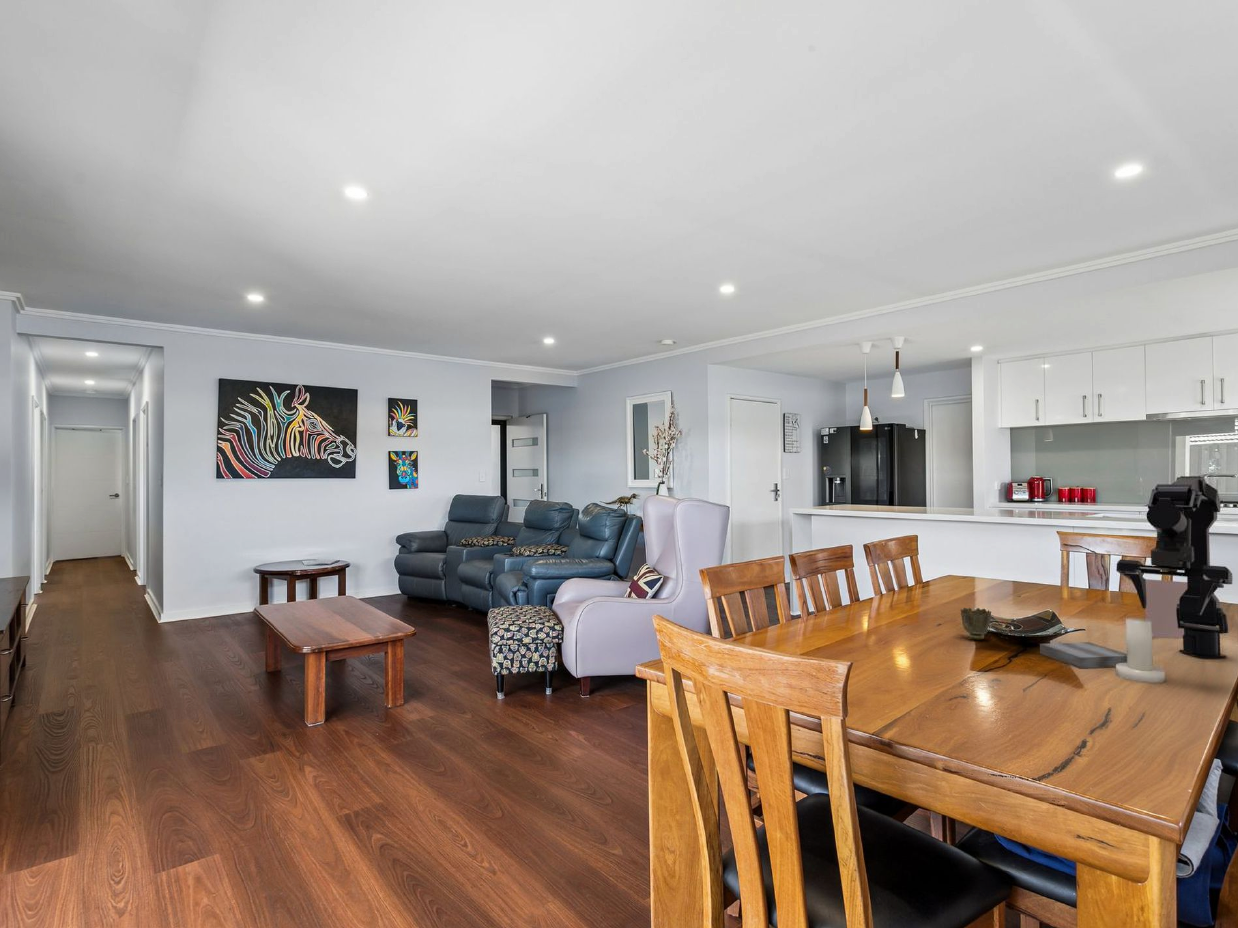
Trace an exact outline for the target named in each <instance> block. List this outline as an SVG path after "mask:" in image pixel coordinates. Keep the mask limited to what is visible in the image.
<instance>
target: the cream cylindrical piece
mask: <svg viewBox="0 0 1238 928" xmlns="http://www.w3.org/2000/svg"><path fill="white" fill-rule="evenodd" d="M1125 635H1126V636H1125V639H1126V654H1127V663H1118V664H1116V667H1115V674H1116V676H1117V677H1119V678H1122V679H1125V680H1129V681H1133V682H1137V681H1138V683H1145V684H1162V683H1164V682H1165V681H1166V671H1165V670H1164V669H1163V668H1161V667H1158V666H1154V660H1153V659H1154V658H1153V657H1154V656H1153V655H1154V654H1153V633H1152V621H1150V620H1146V618H1145V619H1144V618H1139V617H1136V618H1135V617H1134V618H1133V617H1127V618H1125Z"/></svg>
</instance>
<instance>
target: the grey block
mask: <svg viewBox="0 0 1238 928" xmlns="http://www.w3.org/2000/svg"><path fill="white" fill-rule="evenodd" d="M1039 653H1040V655H1042V656H1044V657H1045V656H1046V657H1048V658H1051V659H1052V660H1055V661H1059V662H1062V663H1064V664H1067V665H1070V666H1072V667H1076V668H1079V669H1104V668H1105V669H1107V668H1116V664H1118V663H1127V652H1126V653H1125V652H1122V651H1119V650H1115V649H1113V648H1110V647H1106V646H1102V645H1098V644H1095V643H1092V642H1091V641H1090V642H1089V641H1086V642H1085V641H1083V642H1081V641H1080V642H1079V641H1078V642H1059V643H1058V642H1057V643H1056V642H1055V643H1040V644H1039Z"/></svg>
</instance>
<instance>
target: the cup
mask: <svg viewBox="0 0 1238 928" xmlns="http://www.w3.org/2000/svg"><path fill="white" fill-rule="evenodd" d="M960 616H961V623H962V626H963V629H964V630H965V632H967V633H968V638H969V639H970V638H971V639H970V640H972V639H976V640H975V641H983V640H984V639H985V634H987V633H988V631H989V630H988V631H987V628H988V627H989V626H990V625H991V617H992V611H991V610H990V609H988V610H987V609H985V608H981V609H980V608H979V607H977V608H976V610H972V608H971V607H968V608H966V607H963V609H962V608H961V609H960ZM990 627H991V626H990ZM990 627H989V628H990ZM982 639H983V640H982Z"/></svg>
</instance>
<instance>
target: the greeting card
mask: <svg viewBox="0 0 1238 928" xmlns="http://www.w3.org/2000/svg"><path fill="white" fill-rule="evenodd" d="M1145 579H1146V600H1147V604H1146V609H1144V610H1145V611H1144V612H1145V614H1144V615H1145V619H1146V620H1150V621H1152V638H1153V637H1154V638H1153V639H1183V635H1184V629H1182V628H1181V629H1179V628H1178V623H1177V615H1176V607H1177V604H1179V598H1180V597H1181V596H1182V595H1183V593H1184V592H1185V591H1186V590H1187V581H1176V580H1161V579H1150V578H1148V579H1147V578H1145ZM1186 624H1187V623H1186ZM1194 625H1196V624H1194Z"/></svg>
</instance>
